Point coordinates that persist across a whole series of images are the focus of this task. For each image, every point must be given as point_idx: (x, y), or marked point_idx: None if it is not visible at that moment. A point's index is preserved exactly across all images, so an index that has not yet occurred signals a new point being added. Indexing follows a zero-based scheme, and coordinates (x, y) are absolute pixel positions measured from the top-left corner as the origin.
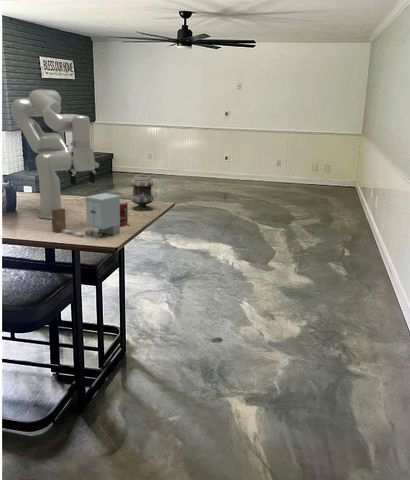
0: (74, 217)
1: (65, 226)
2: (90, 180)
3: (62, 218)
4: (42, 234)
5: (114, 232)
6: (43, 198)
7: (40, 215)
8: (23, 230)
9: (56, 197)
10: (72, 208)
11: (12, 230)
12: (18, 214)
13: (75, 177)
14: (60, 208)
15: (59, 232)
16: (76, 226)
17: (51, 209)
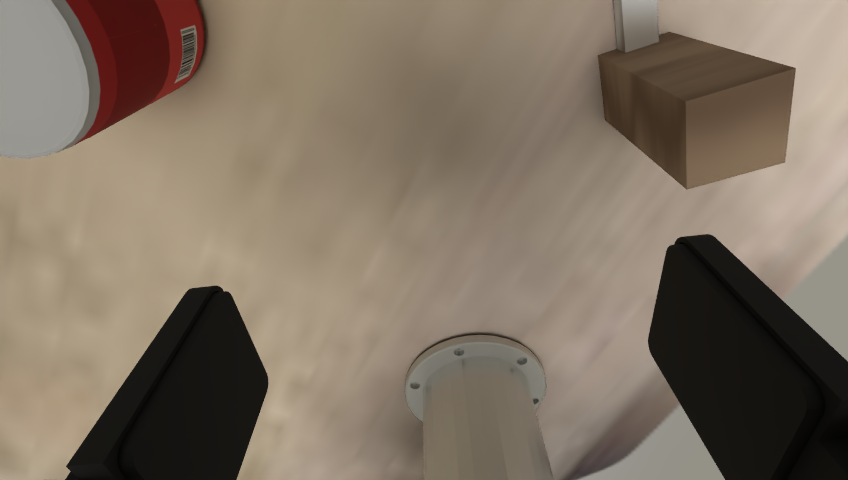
0: (376, 322)
1: (612, 62)
2: (248, 381)
3: (677, 67)
4: (775, 58)
5: None
6: (551, 474)
7: (537, 392)
8: (774, 212)
9: (479, 459)
10: (312, 454)
11: (812, 241)
12: (577, 457)
13: (803, 359)
14: (701, 144)
15: (663, 34)
16: (467, 133)
17: (782, 159)
